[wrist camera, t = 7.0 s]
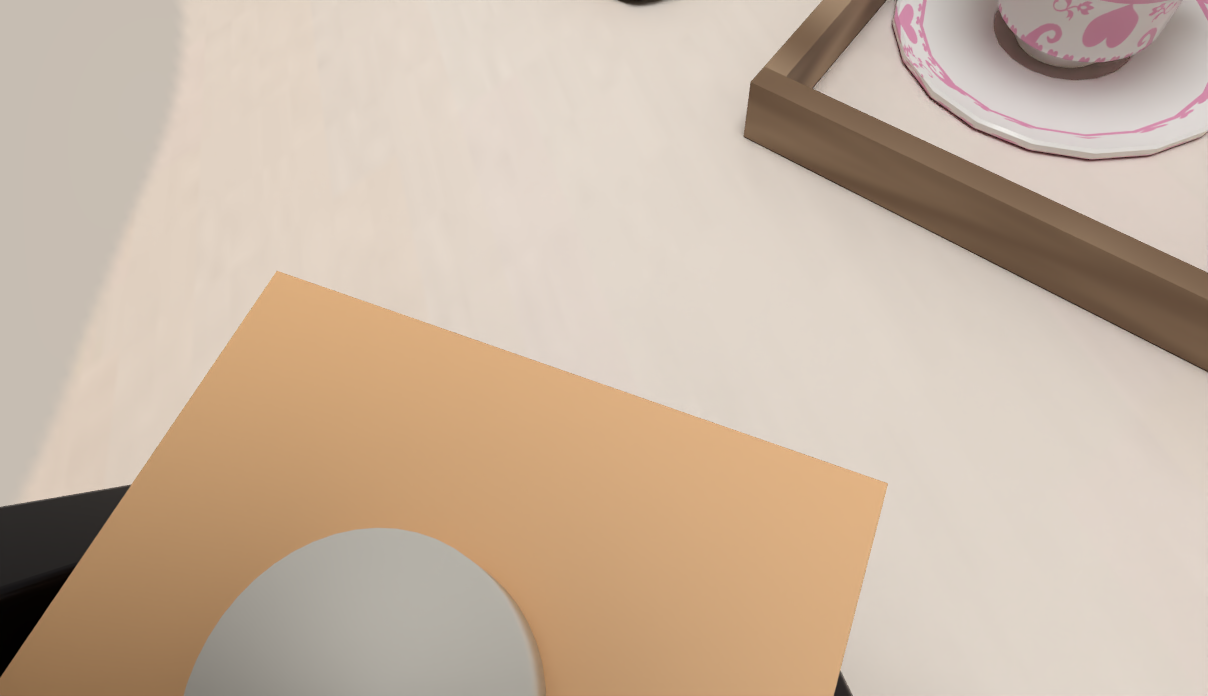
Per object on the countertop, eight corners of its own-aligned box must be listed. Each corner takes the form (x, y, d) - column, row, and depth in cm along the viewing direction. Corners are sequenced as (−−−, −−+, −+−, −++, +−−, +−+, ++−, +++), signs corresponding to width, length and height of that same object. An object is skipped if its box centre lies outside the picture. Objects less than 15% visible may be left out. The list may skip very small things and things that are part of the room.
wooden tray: (1294, 415, 20) (1372, 378, 18) (743, 136, 26) (750, 81, 24) (1464, 25, 25) (1540, -42, 23) (975, -135, 31) (999, -200, 29)
